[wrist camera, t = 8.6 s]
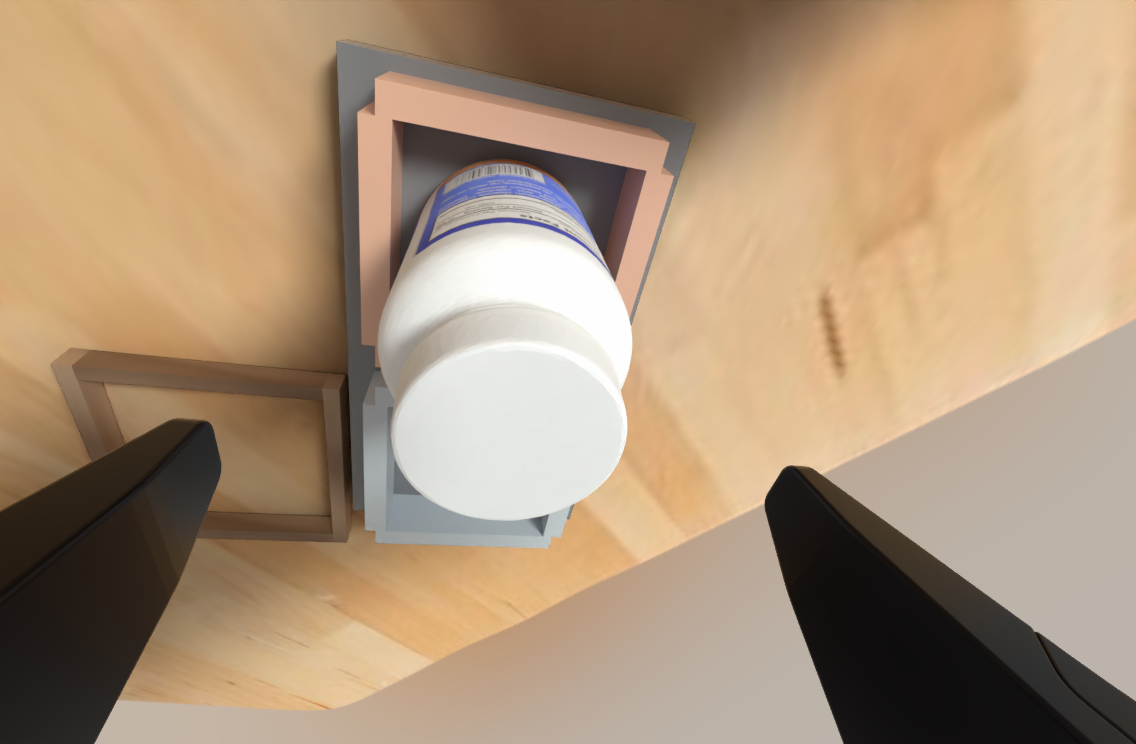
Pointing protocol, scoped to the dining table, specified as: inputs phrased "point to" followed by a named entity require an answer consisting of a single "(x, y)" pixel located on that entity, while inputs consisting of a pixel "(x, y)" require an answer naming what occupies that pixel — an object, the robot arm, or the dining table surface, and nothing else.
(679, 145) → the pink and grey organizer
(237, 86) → the dining table surface
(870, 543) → the robot arm
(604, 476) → the pill bottle
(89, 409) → the tray
